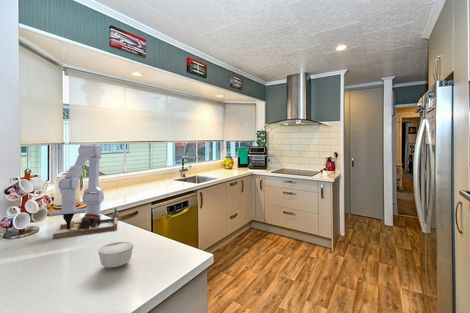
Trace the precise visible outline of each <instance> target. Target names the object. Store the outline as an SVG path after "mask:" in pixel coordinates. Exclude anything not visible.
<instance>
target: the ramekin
mask: <svg viewBox="0 0 470 313" xmlns="http://www.w3.org/2000/svg"><path fill="white" fill-rule="evenodd" d="M133 249H134V243H132V242H131V241H117V242H111V243H107V244H105V245H103V246H101V247H100V248H99V249H98V251H97V254H98V255H99V261H100V262H99V263H100V264H101V265H102V266H103V268H116V267H121V266H123V265H125V264H127V263H129V261H130V260H131V259H132V255H133Z"/></svg>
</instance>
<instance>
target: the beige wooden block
mask: <svg viewBox="0 0 470 313" xmlns="http://www.w3.org/2000/svg"><path fill="white" fill-rule="evenodd" d="M74 223H75V220H71V223H70V229H68V232H70V231H78V230H80V229H79V225H80V223H78V222H77V223H78V224H74Z"/></svg>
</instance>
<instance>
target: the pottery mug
mask: <svg viewBox="0 0 470 313" xmlns="http://www.w3.org/2000/svg"><path fill="white" fill-rule="evenodd" d="M100 220H101V219H100V216H99V215H96V214H86V213H84V216H82V218H81V221H80V222H81V225H79V229H78V230H85V229H90V228H91V229H92V228H96V226H99V225H100V224H101V223H100ZM97 222H98V224H97Z"/></svg>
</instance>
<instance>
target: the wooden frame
mask: <svg viewBox="0 0 470 313" xmlns="http://www.w3.org/2000/svg"><path fill="white" fill-rule="evenodd" d="M109 221H111V222H113V223H114V225H109V226H99V227H94V228H92V227H91V228H89V229H85V230H84V229H78V231H70V232H69V231H63V232H57V233H56V232H55V233H53V234H52V239H61V238H68V237H74V236H82V235H88V234H96V233H102V232H109V231H111V232H112V231H116V229H117V230H118V221H119V211H118V212H117V207H115V208H114V212H112V218H106V219H100V224H103V223H102V222H105V223H109ZM78 223H80V225H81V221H79V222H74V224H78ZM97 223H98V222H97ZM59 229H60V230H62V229H67V223H64V224H63V223H62V224H60V226H59Z"/></svg>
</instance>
